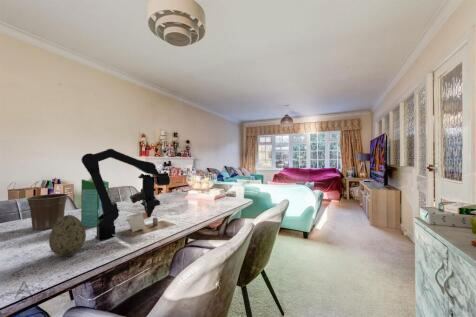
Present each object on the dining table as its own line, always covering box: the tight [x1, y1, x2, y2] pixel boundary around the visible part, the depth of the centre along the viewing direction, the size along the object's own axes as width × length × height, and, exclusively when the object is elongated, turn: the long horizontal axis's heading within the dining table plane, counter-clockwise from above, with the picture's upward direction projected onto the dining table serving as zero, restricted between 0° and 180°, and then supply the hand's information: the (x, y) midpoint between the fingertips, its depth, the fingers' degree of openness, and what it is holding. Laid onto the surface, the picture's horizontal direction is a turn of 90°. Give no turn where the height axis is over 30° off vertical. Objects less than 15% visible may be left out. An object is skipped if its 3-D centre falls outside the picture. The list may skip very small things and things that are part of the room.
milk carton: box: [80, 177, 110, 228], centre depth 117 cm, size 9×9×25 cm
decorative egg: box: [48, 214, 87, 257], centre depth 80 cm, size 11×11×15 cm
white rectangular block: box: [124, 211, 152, 232], centre depth 107 cm, size 11×6×6 cm, turn 128°
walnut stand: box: [121, 216, 177, 238], centre depth 109 cm, size 23×12×5 cm, turn 143°
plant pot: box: [26, 193, 69, 231], centre depth 112 cm, size 16×16×16 cm
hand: (148, 217), depth 109 cm, fingers closed
